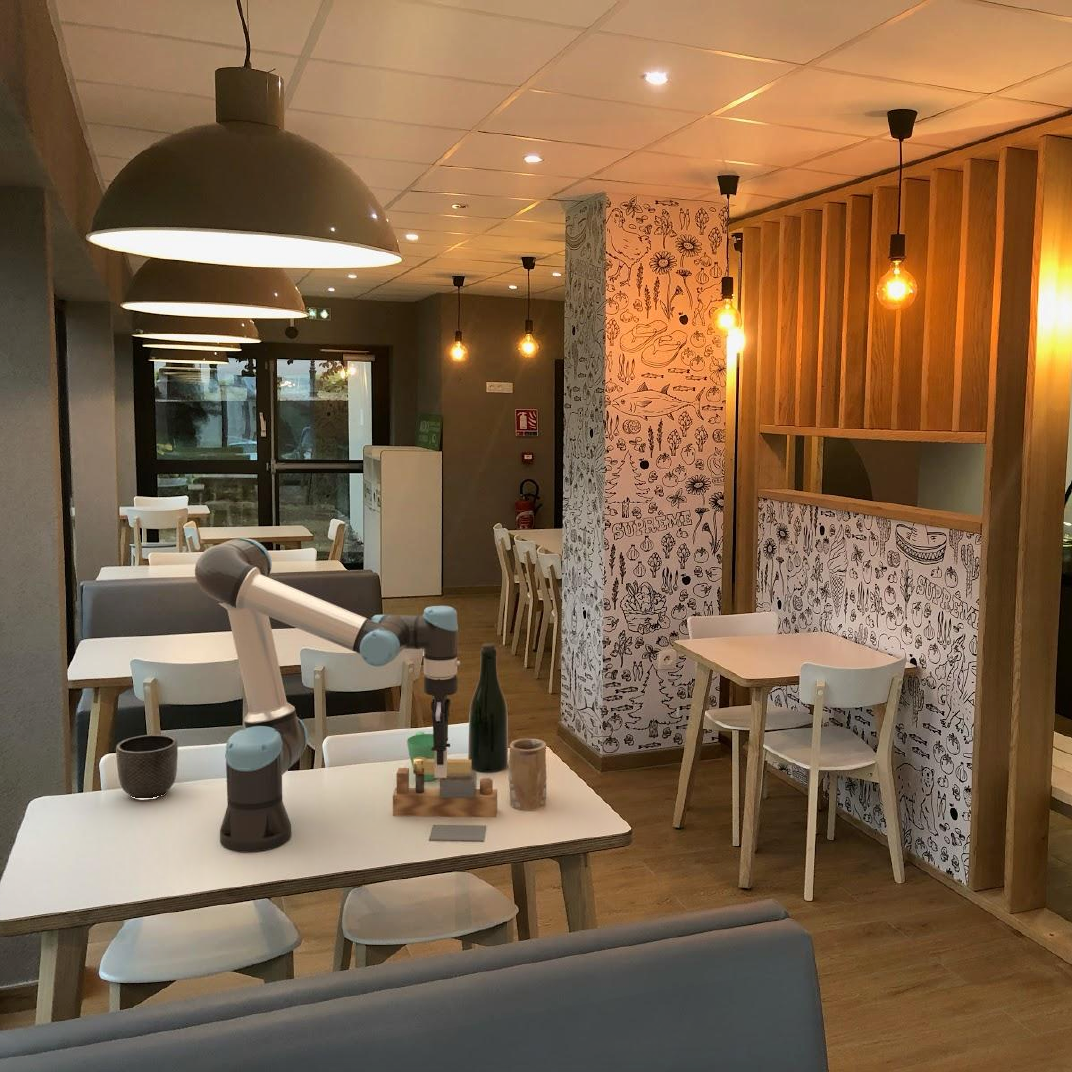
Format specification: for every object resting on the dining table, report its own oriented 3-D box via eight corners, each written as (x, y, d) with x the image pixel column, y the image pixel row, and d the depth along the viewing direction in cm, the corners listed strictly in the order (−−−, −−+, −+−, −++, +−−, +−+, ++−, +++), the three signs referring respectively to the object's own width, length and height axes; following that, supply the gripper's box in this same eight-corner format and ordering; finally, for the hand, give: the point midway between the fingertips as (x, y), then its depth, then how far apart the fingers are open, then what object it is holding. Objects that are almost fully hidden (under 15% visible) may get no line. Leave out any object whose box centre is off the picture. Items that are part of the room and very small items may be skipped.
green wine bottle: (467, 773, 268) (468, 648, 264) (468, 759, 279) (469, 639, 275) (507, 773, 269) (509, 648, 265) (507, 759, 279) (508, 639, 275)
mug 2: (520, 813, 242) (521, 751, 240) (494, 795, 253) (494, 736, 251) (553, 806, 247) (554, 745, 245) (525, 789, 257) (526, 730, 256)
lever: (412, 774, 239) (412, 761, 239) (414, 770, 242) (414, 756, 242) (470, 775, 239) (470, 762, 239) (471, 771, 242) (471, 757, 242)
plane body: (392, 815, 240) (392, 774, 239) (395, 807, 244) (395, 767, 243) (496, 817, 240) (496, 775, 238) (497, 809, 244) (497, 768, 243)
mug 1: (449, 782, 262) (449, 744, 260) (411, 786, 259) (411, 747, 257) (436, 763, 275) (436, 726, 274) (400, 766, 272) (400, 730, 271)
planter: (143, 810, 241) (141, 756, 240) (105, 797, 249) (103, 745, 247) (191, 791, 253) (189, 740, 252) (153, 780, 261) (152, 730, 259)
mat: (428, 840, 226) (428, 839, 226) (433, 826, 234) (433, 824, 234) (483, 841, 226) (483, 840, 226) (486, 827, 234) (486, 825, 234)
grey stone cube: (439, 797, 238) (439, 780, 237) (442, 786, 245) (442, 770, 244) (474, 798, 238) (474, 781, 237) (476, 787, 245) (476, 770, 244)
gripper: (454, 683, 225) (454, 787, 228) (460, 668, 238) (459, 767, 241) (420, 682, 226) (420, 786, 228) (427, 667, 238) (427, 766, 241)
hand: (440, 776), depth 235 cm, fingers closed
